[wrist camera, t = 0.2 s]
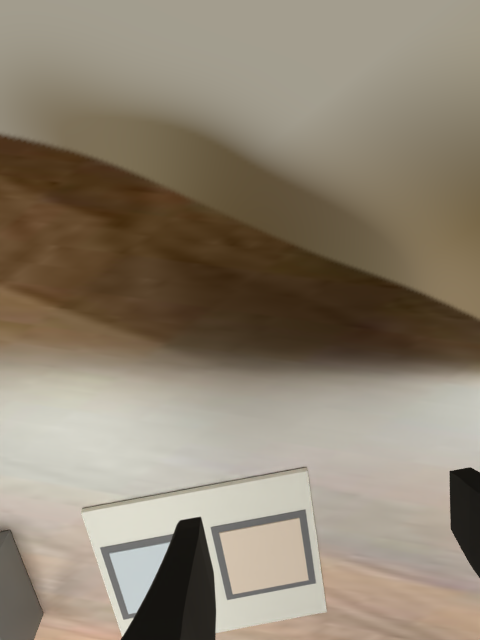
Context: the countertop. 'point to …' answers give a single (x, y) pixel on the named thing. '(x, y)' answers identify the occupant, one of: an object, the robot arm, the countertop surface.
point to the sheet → (218, 547)
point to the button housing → (16, 595)
